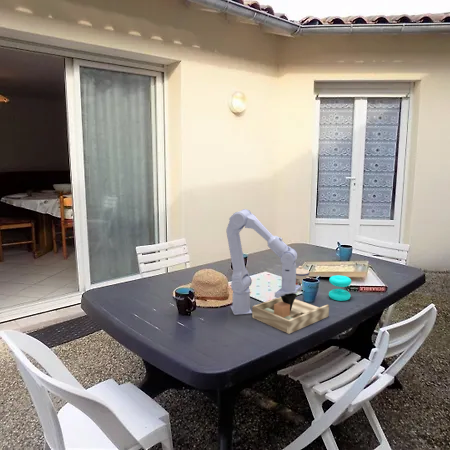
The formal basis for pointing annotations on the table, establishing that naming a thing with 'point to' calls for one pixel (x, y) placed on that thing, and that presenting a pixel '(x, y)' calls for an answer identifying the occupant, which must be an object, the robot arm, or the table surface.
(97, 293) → the table surface
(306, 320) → the trap box
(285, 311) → the block
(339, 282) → the cyan spool
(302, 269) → the teacup with lid
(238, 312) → the robot arm
